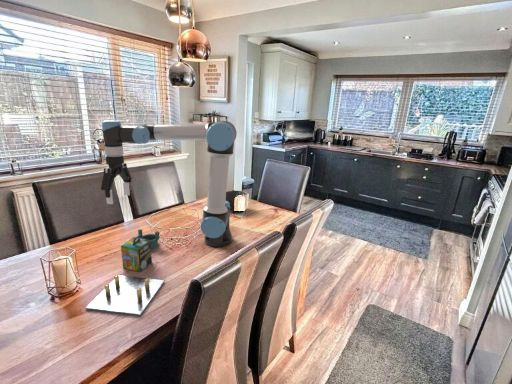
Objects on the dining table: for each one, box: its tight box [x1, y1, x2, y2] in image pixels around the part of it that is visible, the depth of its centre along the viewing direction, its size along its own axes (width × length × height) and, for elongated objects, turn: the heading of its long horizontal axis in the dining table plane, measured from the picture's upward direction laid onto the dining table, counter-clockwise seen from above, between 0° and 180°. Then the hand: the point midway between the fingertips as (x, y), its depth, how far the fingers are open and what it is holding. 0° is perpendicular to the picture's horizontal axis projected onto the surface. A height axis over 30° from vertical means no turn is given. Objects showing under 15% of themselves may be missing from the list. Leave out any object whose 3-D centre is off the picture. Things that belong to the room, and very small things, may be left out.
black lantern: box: [225, 190, 247, 213], centre depth 201 cm, size 15×15×25 cm
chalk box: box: [120, 234, 153, 273], centre depth 124 cm, size 9×9×15 cm
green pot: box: [137, 229, 160, 251], centre depth 142 cm, size 9×9×9 cm
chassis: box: [85, 274, 165, 317], centre depth 106 cm, size 20×20×6 cm
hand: (119, 199), depth 133 cm, fingers open, 13 cm apart
